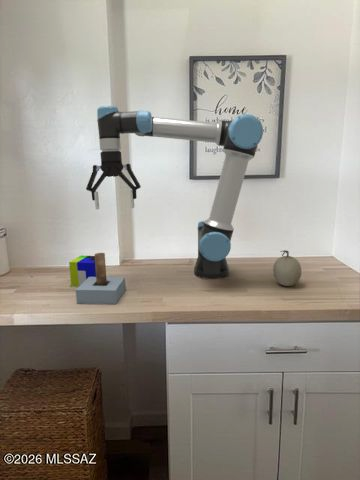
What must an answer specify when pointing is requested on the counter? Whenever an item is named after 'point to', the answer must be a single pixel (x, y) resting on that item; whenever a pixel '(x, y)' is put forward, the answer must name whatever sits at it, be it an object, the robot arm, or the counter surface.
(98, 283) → the dowel
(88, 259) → the puzzle toy
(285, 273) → the fruit
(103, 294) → the socket block
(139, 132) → the robot arm
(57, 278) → the counter surface
